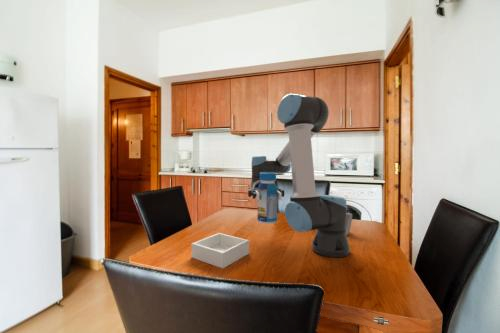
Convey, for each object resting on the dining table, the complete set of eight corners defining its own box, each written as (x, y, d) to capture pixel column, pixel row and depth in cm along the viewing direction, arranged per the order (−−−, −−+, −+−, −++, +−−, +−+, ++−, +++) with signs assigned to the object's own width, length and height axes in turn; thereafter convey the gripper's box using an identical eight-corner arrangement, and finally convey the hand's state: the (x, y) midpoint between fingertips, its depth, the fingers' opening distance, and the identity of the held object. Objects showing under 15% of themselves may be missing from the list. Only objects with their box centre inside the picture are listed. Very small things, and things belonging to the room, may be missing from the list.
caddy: (248, 253, 100) (248, 240, 100) (222, 268, 87) (222, 253, 87) (219, 245, 110) (219, 232, 109) (191, 257, 96) (191, 243, 96)
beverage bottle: (277, 224, 97) (277, 173, 96) (255, 223, 98) (256, 173, 97) (278, 219, 105) (278, 172, 104) (258, 218, 107) (258, 171, 106)
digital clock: (318, 228, 136) (319, 209, 135) (330, 226, 140) (331, 207, 139) (343, 237, 121) (343, 215, 121) (355, 234, 126) (355, 213, 125)
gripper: (282, 196, 120) (295, 205, 98) (239, 196, 118) (242, 206, 96) (282, 180, 120) (295, 186, 97) (239, 180, 118) (242, 187, 95)
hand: (269, 196), depth 97 cm, fingers closed on beverage bottle, 8 cm apart
